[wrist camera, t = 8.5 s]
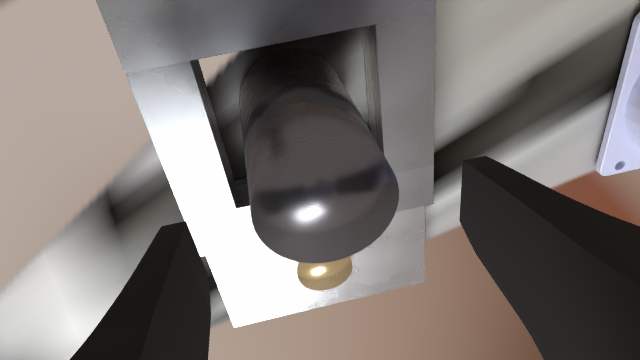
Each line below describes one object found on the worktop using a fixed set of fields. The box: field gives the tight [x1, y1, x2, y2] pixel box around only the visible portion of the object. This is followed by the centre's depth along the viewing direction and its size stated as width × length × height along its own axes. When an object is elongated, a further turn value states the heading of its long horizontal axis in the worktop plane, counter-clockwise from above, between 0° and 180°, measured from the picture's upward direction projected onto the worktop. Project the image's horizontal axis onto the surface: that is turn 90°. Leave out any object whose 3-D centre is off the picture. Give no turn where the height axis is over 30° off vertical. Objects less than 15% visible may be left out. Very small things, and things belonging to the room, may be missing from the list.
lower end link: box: [194, 26, 425, 328], centre depth 19 cm, size 10×16×2 cm, turn 8°
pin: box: [239, 48, 399, 263], centre depth 15 cm, size 4×4×7 cm
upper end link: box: [96, 0, 435, 257], centre depth 16 cm, size 10×14×2 cm
